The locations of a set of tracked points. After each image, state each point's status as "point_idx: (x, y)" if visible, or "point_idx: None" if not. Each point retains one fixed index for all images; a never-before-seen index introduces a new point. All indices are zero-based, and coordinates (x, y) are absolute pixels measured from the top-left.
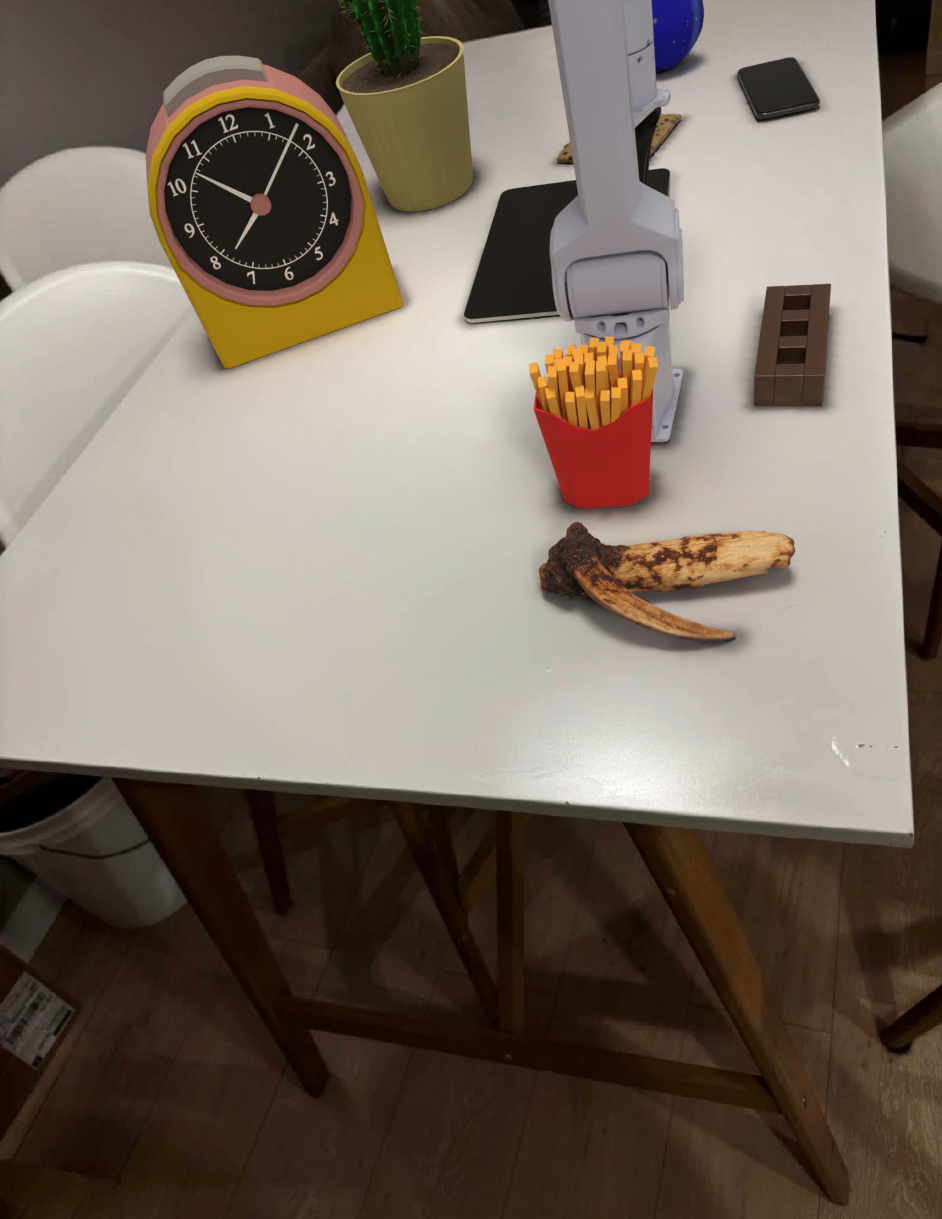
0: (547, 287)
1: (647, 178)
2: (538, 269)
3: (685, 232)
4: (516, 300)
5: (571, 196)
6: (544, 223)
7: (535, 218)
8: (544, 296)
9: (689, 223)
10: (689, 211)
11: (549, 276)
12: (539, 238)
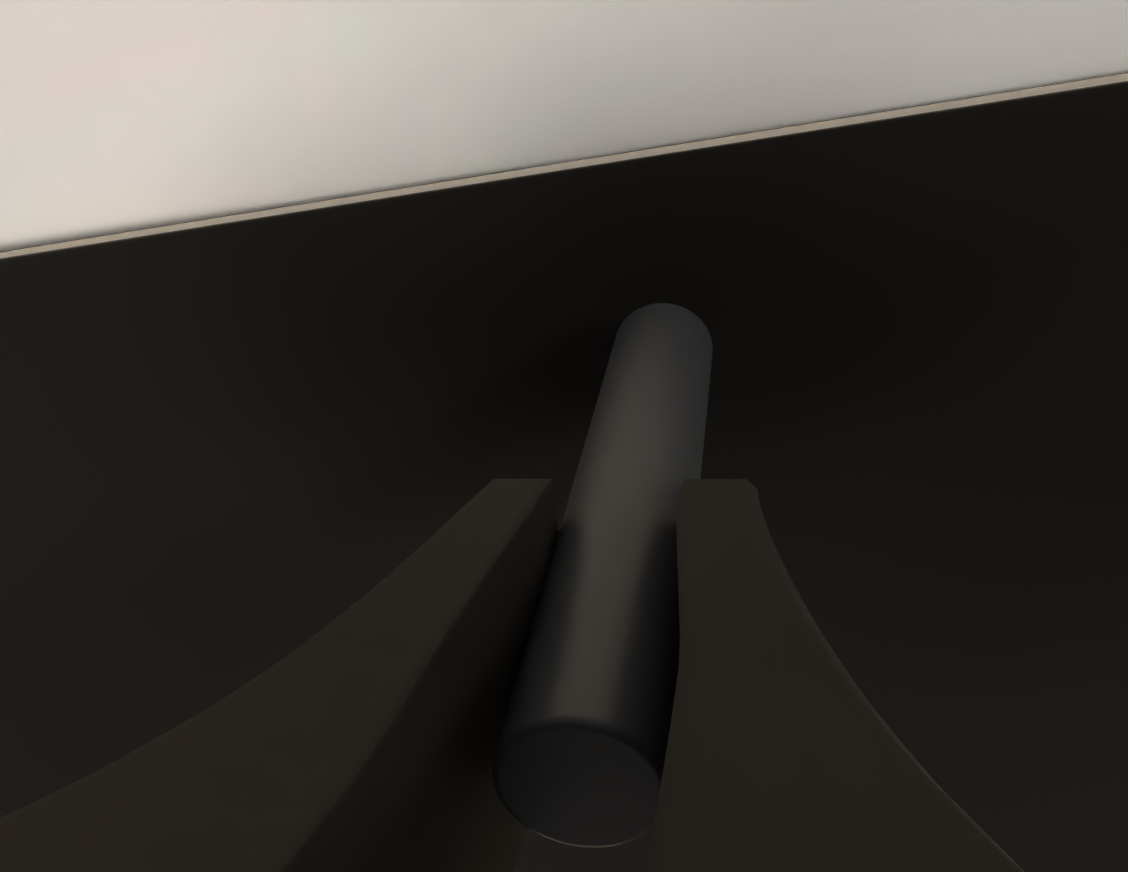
0: (978, 747)
1: (466, 515)
2: None
3: (311, 56)
4: (1078, 859)
5: (86, 755)
6: None
7: None
8: (1071, 748)
9: (198, 52)
10: (55, 85)
11: None
12: None
